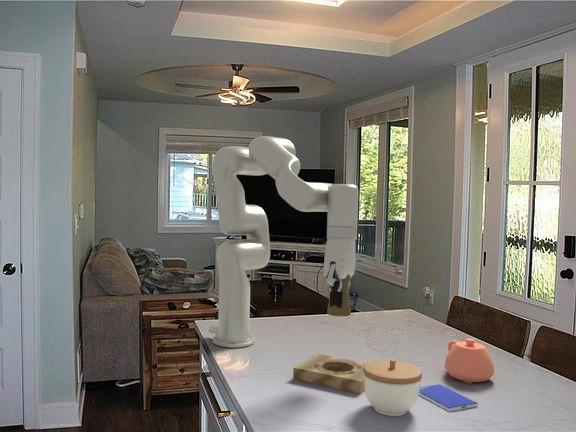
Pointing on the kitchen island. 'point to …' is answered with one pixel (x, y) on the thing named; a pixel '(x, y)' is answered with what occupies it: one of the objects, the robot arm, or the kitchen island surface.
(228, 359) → the kitchen island surface
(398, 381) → the lidded bowl
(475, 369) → the sugar bowl
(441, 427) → the kitchen island surface
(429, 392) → the hard drive
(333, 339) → the kitchen island surface
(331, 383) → the holder board
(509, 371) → the kitchen island surface
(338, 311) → the cork
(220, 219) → the robot arm
